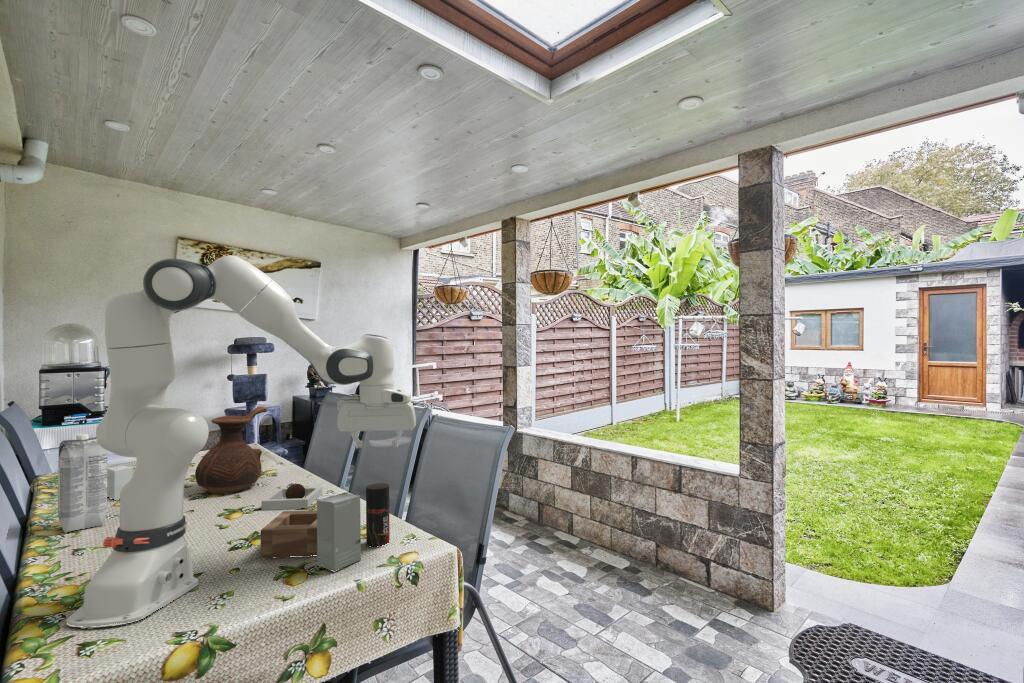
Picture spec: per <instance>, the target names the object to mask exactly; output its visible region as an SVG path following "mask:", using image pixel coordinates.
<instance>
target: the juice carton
mask: <svg viewBox="0 0 1024 683" xmlns="http://www.w3.org/2000/svg"><path fill="white" fill-rule="evenodd" d="M57 459H58V463H57V465H58V468H57V470H58V471H57V472H58V473H57V475H58V477H57V480H58V481H57V505H58V506H57V516H58V520H59V523H60V526H61V528H62V531H63V533H64V532H67V531H72V530H79V529H84V530H86V529H85V528H88V529H91V528H90V527H93V528H96V527H95V526H98V527H101V526H100V525H102V526H103V525H104V523H105V520H106V517H107V513H108V498H107V468H108V450H106V449H104V448H102V447H101V446H100V445H99V443H98V441H97V439H96V436H95V437H90V435H89V434H78V435H75V439H65V440H62V441H61V442H59V446H58V458H57ZM79 531H80V530H79Z"/></svg>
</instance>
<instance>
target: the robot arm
mask: <svg viewBox="0 0 1024 683" xmlns="http://www.w3.org/2000/svg"><path fill="white" fill-rule="evenodd" d="M142 280H143V281H142V286H143V289H141V290H140V291H135V292H126V293H123V294H118V295H116V296H114V297H113V298H111V299H110V300H109V301H108V302H107V304H106V306H105V317H104V318H105V319H104V337H105V338H104V339H105V345H106V346H105V347H106V355H107V362H108V368H109V378H110V395H109V400H108V406H107V411H106V413H105V415H104V416H103V417H102V418H101V420H100V421H99V422H98V424H97V425H96V426H97V427H96V430H95V437H96V439H97V441H98V443H99V445H100V446H101V447H102V448H104V449H106V450H107V452H110V453H112V454H114V455H116V456H120V457H127V458H136V463H135V464H136V465H135V467H134V470H133V476H132V478H131V480H130V482H128V483H127V484H126V485H125V486H124V487H123V488H122V490H121V492H120V500H119V526H118V527H117V530H116V533H115V535H114V536H113V537H111V536H107V537H105V538H104V541H102V547H103V548H104V549H106V548H107V549H108V548H112V551H111V553H110V554H109V556H108V557H107V558H106V560H105V561H104V562H103V564H102V565H101V566H100V567H99V569H98V570H97V572H96V573H95V575H94V576H93V577H92V578H91V579H90V581H89V582H88V583H87V585H86V587H85V590H84V597H83V603H82V605H81V606H80V607H79V608H78V609H77V610H75V611H74V612H73V613H72V614H71V615H69V617H68V618H66V622H65V624H66V623H68V624H70V625H74V626H83V627H91V626H101V625H108V624H114V623H115V624H116V623H117V624H118V623H119V624H120V623H128V622H132V621H136V620H140V619H143V618H145V617H146V616H148V615H150V614H151V613H153V612H154V611H156V610H158V609H159V610H161V609H163V608H164V607H165V606H167V605H169V604H170V602H171V603H172V602H173V600H174V601H175V600H177V599H178V598H180V597H181V596H183V595H185V594H186V593H188V592H189V591H191V590H192V589H194V588H196V587H198V585H199V584H200V582H199V578H197V577H195V576H194V567H193V558H192V550H191V546H190V545H189V543H188V541H187V540H186V537H185V534H186V531H187V521H186V516H185V515H184V496H185V495H184V494H185V492H184V490H185V489H184V488H185V481H186V477H187V474H188V470H189V467H190V466H191V462H192V461H193V459H194V458H195V456H196V455H197V454H198V453H200V452H201V451H202V450H203V448H204V447H205V445H206V444H207V441H208V439H209V435H210V433H209V432H210V431H209V425H208V423H207V421H206V419H205V418H204V417H203V416H202V415H200V414H198V413H195V412H192V411H190V410H186V409H184V408H178V407H177V408H175V407H165V396H166V394H167V389H168V388H169V385H171V384H172V383H173V382H174V380H175V378H176V375H177V374H176V366H175V365H176V364H175V358H174V351H173V343H172V338H171V330H170V323H171V322H170V321H171V318H172V316H173V314H177V313H179V312H183V311H188V310H191V309H194V308H196V307H198V306H200V305H201V304H202V303H203V302H204V301H206V300H214V301H217V302H220V303H222V304H224V305H225V306H227V307H228V308H229V309H230V310H232V311H233V312H234V313H236V314H238V315H239V316H240V317H241V318H243V319H244V320H246V321H247V322H248V323H250V324H251V325H252V326H254V327H256V328H258V329H261V330H263V331H264V332H266V333H269V334H270V335H272V336H274V337H276V338H278V339H280V340H281V341H284V343H286V345H288V346H290V347H291V348H292V349H293V350H294V351H296V352H297V353H298V354H300V355H301V356H302V357H303V358H304V359H306V360H307V361H308V363H309V364H310V365H311V367H312V369H313V372H314V373H315V375H316V377H317V378H318V379H319V380H320V381H322V382H323V383H325V384H329V385H339V386H346V385H347V386H349V385H351V384H354V383H359V395H352V396H349V395H343V396H342V397H341V398H339V399H337V403H336V409H337V410H336V411H337V412H338V414H337V420H336V423H337V424H336V429H337V430H338V431H339V432H341V433H342V432H344V433H345V432H346V433H347V432H350V435H351V438H352V440H353V441H354V443H355V449H363V446H364V441H363V440H360V439H359V437H358V434H359V432H380V431H381V432H382V431H384V432H385V431H389V432H391V431H395V434H396V435H397V437H396V438H395V439H393V440H392V441H391V447H392V448H398V447H399V446H400V445H399V444H400V443H399V440H400V438H401V437H402V435H403V432H404V431H413V430H414V429H415V428H416V426H417V419H416V418H417V417H416V410H415V405H414V404H413V403H412V401H411V399H412V394H411V393H410V392H408V391H404V390H401V389H399V388H395V383H394V379H393V371H394V367H395V363H394V361H395V360H394V350H393V349H394V348H393V345H392V342H391V340H390V339H389V338H388V337H386V336H383V335H379V334H370V333H369V334H368V333H367V334H363V335H361V337H359V338H358V339H356V340H353V341H352V342H350V343H348V344H345V345H342V346H341V347H337V346H333V345H330V344H327V343H326V342H325V341H324V340H322V338H320V337H319V336H318V335H317V334H316V333H314V332H313V331H312V330H311V329H309V328H308V327H307V326H306V325H305V324H304V323H303V322H302V320H301V319H300V318H299V316H298V314H297V311H296V310H297V309H296V306H295V302H294V300H293V298H292V297H291V296H290V295H289V293H288V292H286V291H285V289H284V288H283V287H282V286H281V285H279V283H277V282H276V281H275V280H273V279H272V278H271V277H270V276H269V275H267V274H266V273H265V272H263V271H262V270H260V269H259V268H258V267H256V266H254V265H252V263H249V262H248V261H247V260H245V259H243V258H241V257H239V256H238V255H237V256H236V255H233V254H232V255H231V254H229V255H224V256H221V257H218V258H217V259H215V260H214V261H213V262H211V264H209V265H206V264H202V263H198V262H193V261H189V260H186V259H179V258H166V259H161V260H158V261H156V262H155V263H153V264H151V265H150V266H149V268H148V269H147V270H146V271H145V273H144V276H143V279H142ZM162 607H163V608H162ZM160 608H161V609H160ZM159 610H158V611H159ZM156 612H157V611H156ZM153 614H154V613H153ZM151 615H152V614H151ZM151 615H150V616H151ZM148 617H149V616H148ZM145 619H146V618H145ZM143 620H144V619H143Z"/></svg>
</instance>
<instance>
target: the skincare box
mask: <svg viewBox="0 0 1024 683" xmlns="http://www.w3.org/2000/svg"><path fill="white" fill-rule="evenodd" d="M316 510H317V557H316V566H317V567H318V566H319V567H318V568H321V567H323V568H322V569H324V568H326V569H325V570H327V569H329V570H328V571H330V570H333V571H336V570H338V569H340V570H342V569H344V568H343V567H345V566H347V567H348V565H349V566H350V564H351V565H353V564H354V563H357V562H359V561H361V560H362V555H361V554H362V546H361V544H362V543H361V542H362V541H361V540H362V539H361V537H362V535H361V532H362V531H361V495H359V494H352V493H347V492H343V493H339V494H334V495H329V496H327V497H324V498H319V499H318V500H317V501H316ZM352 563H353V564H352ZM341 568H342V569H341ZM345 568H346V567H345ZM338 571H339V570H338Z"/></svg>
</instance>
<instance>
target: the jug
mask: <svg viewBox="0 0 1024 683" xmlns="http://www.w3.org/2000/svg"><path fill="white" fill-rule="evenodd" d="M266 412H267V407H266V406H262V405H261V406H257V407H255V408H254V409H253V410H251V411H250V412H249V413H247V414H246V415H245V416H242V415H225V416H219V417H218V416H217V417H215V418H212V419H211V423H213V424H215V425H218V427H219V430H220V438H219V441H218V443H217V444H215V445H214V446H212V448H210V449H209V450H208V451H207V452H206V453H205V454H204V455H203V456H202V458H201V459H200V461H199V463H198V464H197V466H196V468H195V473H194V476H195V482H196V484H197V486H199V487H200V488H203V489H205V490H206V491H207V492H209V493H211V494H212V495H224V494H223V493H228V494H232V493H231V492H234V493H238V492H241V491H244V490H246V489H248V488H249V487H251V486H253V485H254V484H255V483H256V482H257V481H258V480H259V479H260V476H261V475H262V474H261V473H262V463H261V456H262V454H263V451H262V450H261V449H260V448H252V447H251V445H249V444H248V443H246V441H244V439H243V428H244V427H245V426H246V425H247V424H250V423H251V422H253V420H254V419H255V417H256V416H257V415H258V414H261V413H266Z"/></svg>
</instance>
